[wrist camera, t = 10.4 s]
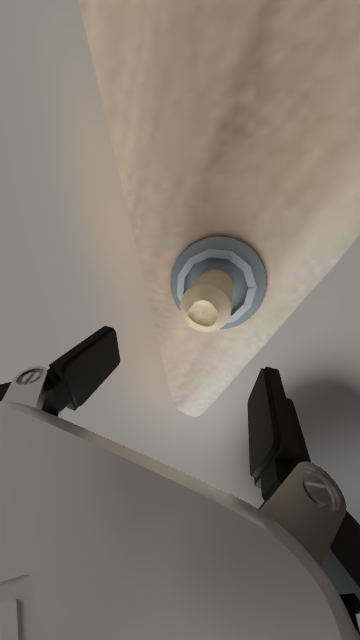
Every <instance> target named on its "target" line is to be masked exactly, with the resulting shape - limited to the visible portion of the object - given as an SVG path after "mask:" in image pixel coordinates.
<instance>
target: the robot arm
mask: <svg viewBox="0 0 360 640" xmlns="http://www.w3.org/2000/svg"><path fill="white" fill-rule="evenodd" d="M119 363H120V356H119V349H118V343H117V336H116V331H115V330H114V328H111V327H108V326H104V327H102V328H101V329H99V330H98V331H97V332H95V333H94V334H92V335H91V336H89V337H88V338H87V339H85V340H84V341H82V342H81V343H80V344H78V345H77V346H75V347H74V348H72V349H71V350H70V351H68V352H67V353H65V354H64V355H62V356H61V357H60V358H58V359H57V360H55V361H54V362H53V363H51V364H50V365H49V366H50V369H48V370H47V369H46V368H45V367H43V366H36V367H32V368H29V369H26V370H24V371H22V372H21V373H19V374H18V375H17V376H16V377H15V378H14V379H13V381H12V382H9V383H5V384H1V385H0V640H360V525H359V524H358V523H357V521H356V520H355V519H354V518H353V517H352V516H351V515H350V514H349V513H348V512H347V510H346V502H345V499H344V496H343V494H342V492H341V490H340V488H339V486H338V485H337V483H336V482H335V481H334V480H333V479H332V478H331V476H330V475H329V474H328V473H327V472H326V471H324V470H323V469H322V468H321V467H319V466H317V465H315V464H314V463H311V461H310V458H309V454H308V451H307V447H306V444H305V440H304V437H303V434H302V430H301V427H300V424H299V420H298V417H297V414H296V410H295V407H294V404H293V401H292V400H291V399H289V398H286V396H285V392H284V389H283V385H282V381H281V377H280V374H279V370H277V369H273V368H270V367H266V368H265V369H261V371H260V373H259V375H258V378H257V380H256V383H255V385H254V387H253V390H252V392H251V395H250V397H249V400H248V429H249V456H250V474H251V476H252V477H254V480H255V481H254V482H255V486H257V487H259V488H261V489H262V497H263V499H264V502H263V503H262V504H261V506H260V507H259V508H258V509H257V508H255V507H253V506H252V505H250V504H248V503H246V502H245V501H243V500H241V499H239V498H237V497H235V496H233V495H231V494H229V493H227V492H225V491H223V490H221V489H218V488H216V487H214V486H212V485H210V484H208V483H206V482H203V481H201V480H199V479H197V478H195V477H193V476H191V475H188V474H186V473H184V472H182V471H179V470H177V469H175V468H173V467H170V466H168V465H166V464H164V463H161V462H159V461H157V460H155V459H152V458H150V457H148V456H146V455H144V454H141V453H139V452H137V451H134V450H132V449H130V448H128V447H125V446H123V445H121V444H119V443H116V442H114V441H112V440H110V439H107V438H105V437H102V436H100V435H98V434H96V433H94V432H91V431H89V430H87V429H84V428H82V427H80V426H77V425H75V424H73V423H71V422H68V421H66V420H63V419H62V415H63V409H64V408H65V407H66V406H67V407H68V408H70V409H72V410H74V411H75V410H76V409H77V408H78V407H79V406H81V405H82V404H83V403H84V402H85V401H86V400H87V399H88V398H89V397H90V396H91V395H92V393H93V392H94V391H95V390H96V389H97V388H98V387H99V386H100V384H102V383H103V381H104V380H105V379H106V378H107V377H108V376H109V375H110V374H111V373H112V371H113V370H114V369H115V368H116V367H117V366H118V365H119Z"/></svg>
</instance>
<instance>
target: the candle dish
mask: <svg viewBox="0 0 360 640" xmlns="http://www.w3.org/2000/svg"><path fill="white" fill-rule="evenodd" d="M211 269H219V270H223V271H225V272H226V273H227V274H229V276H230V277H231V278H232V281H233V284H234V292H233V302H232V311H231V316H230V318H229V320H228V322H227V323H226V324H225V325H224V326H223V327H222V328H220V329H227V328H231V327H234V326H237V325H239V324H241V323H243V322H245V321H246V320H248V319H249V318H250V317H251V316H252V315H253V314H254V313H255V312H256V311H257V310H258V308H259V307H260V305H261V303H262V301H263V299H264V296H265V292H266V285H267V280H266V273H265V269H264V266H263V263H262V262H261V260H260V258H259V257H258V255H257V254H256V253H255V252H254V251H253V250H252V249H251V248H250V247H249V246H248V245H246V244H245V243H243V242H241V241H239V240H237V239H233V238H229V237H210V238H206V239H203V240H200V241H198V242H196V243H194V244H193V245H191V246H190V247H189V248H187V249H186V250H185V251H184V252H183V253H182V254H181V256H180V257H179V258H178V260H177V262H176V264H175V266H174V269H173V272H172V276H171V290H172V295H173V298H174V301H175V303H176V305H177V307H178V308H179V310H180V302H181V299H182V296H183V295H184V293H185V292H186V291H187V290H188V289H189V288H190V287H191V285H192V284H193V283H194V282H195V281H196V280H197V279H198V278H199V277H200V276H201V275H202V274H203V273H204V272H206V271H208V270H211Z"/></svg>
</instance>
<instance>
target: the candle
mask: <svg viewBox="0 0 360 640" xmlns="http://www.w3.org/2000/svg"><path fill="white" fill-rule="evenodd" d="M233 292H234V284H233V281H232V278H231V277H230V276H229V274H227V273H226V272H225V271H223V270H219V269H211V270H208V271H206V272H204V273H203V274H202V275H201V276H200V277H199V278H198V279H197V280H196V281H195V282H194V283H193V284H192V285H191V287H190V288H189V289H188V290H187V291H186V292H185V293H184V295H183V296H182V299H181V302H180V311H181V314H182V317H183V319H184V320H185V321H186V323H187V324H188V325H190V326H191V327H192V328H194V329H196V330H199V331H203V332H211V331H216V330H218V329H220V328H222V327H223V326H224V325H225V324H226V323H227V322H228V320H229V318H230V316H231V311H232V302H233Z"/></svg>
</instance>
